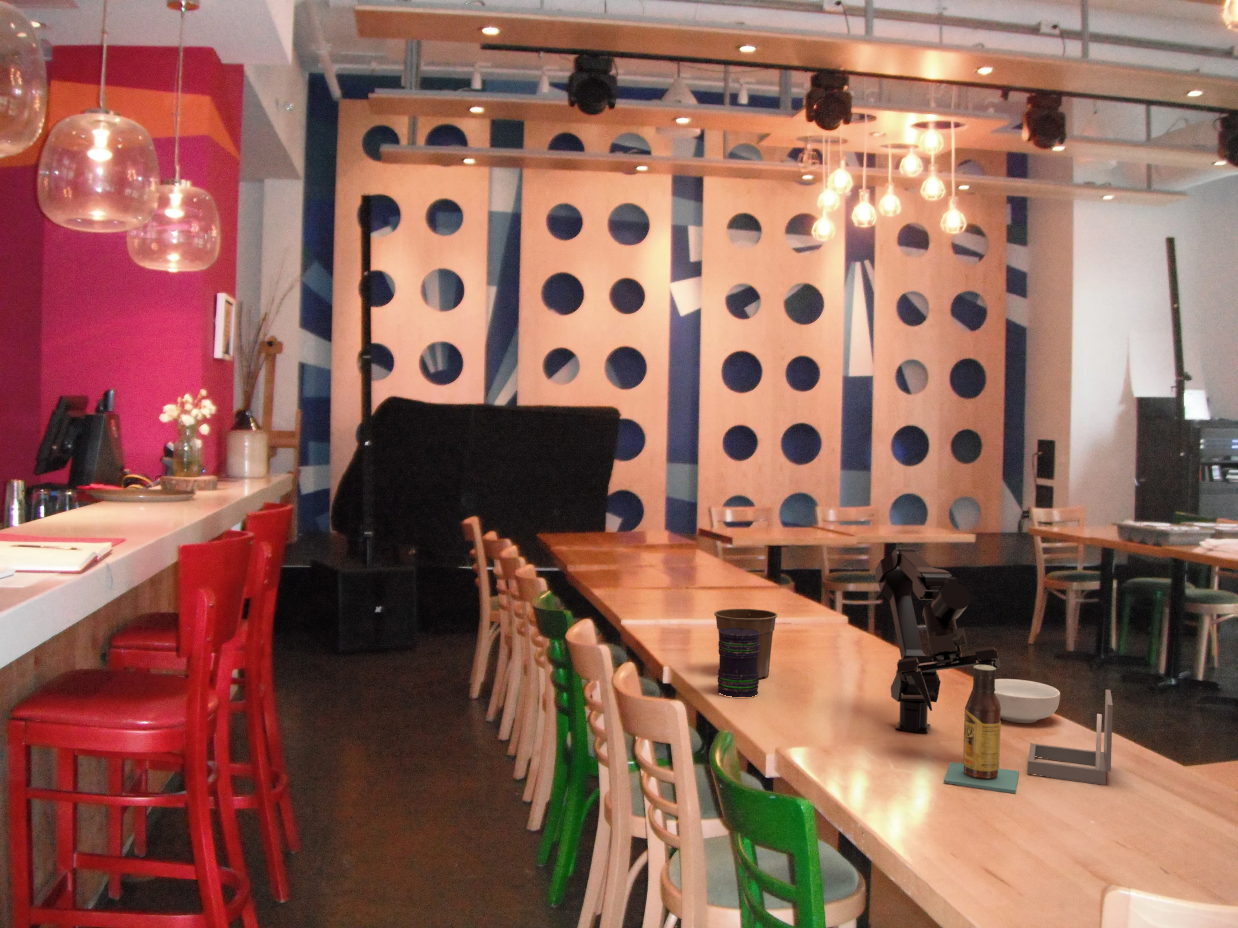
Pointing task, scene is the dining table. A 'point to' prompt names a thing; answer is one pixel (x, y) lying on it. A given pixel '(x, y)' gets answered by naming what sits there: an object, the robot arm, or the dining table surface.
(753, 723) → the dining table surface
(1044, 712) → the cereal bowl
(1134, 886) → the dining table surface
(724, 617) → the plant pot
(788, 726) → the dining table surface
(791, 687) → the dining table surface
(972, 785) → the rubber pad
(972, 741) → the sauce bottle
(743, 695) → the storage jar
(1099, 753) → the open lid tray
